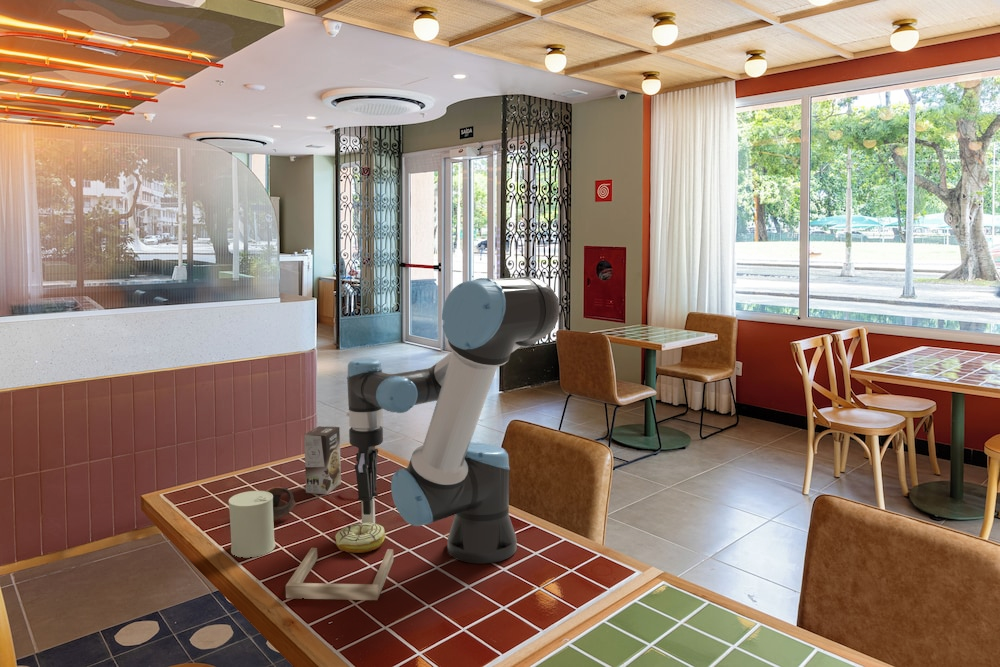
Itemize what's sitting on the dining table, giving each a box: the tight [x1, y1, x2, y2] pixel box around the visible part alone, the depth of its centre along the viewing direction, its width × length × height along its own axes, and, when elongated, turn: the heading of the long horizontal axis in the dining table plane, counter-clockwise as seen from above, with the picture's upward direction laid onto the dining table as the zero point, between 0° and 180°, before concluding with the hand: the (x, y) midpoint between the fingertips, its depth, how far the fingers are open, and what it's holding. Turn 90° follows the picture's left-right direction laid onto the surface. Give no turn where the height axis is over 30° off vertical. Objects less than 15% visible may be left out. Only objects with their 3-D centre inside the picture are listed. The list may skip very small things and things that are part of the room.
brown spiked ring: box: [265, 486, 297, 521], centre depth 171 cm, size 12×10×8 cm
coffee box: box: [303, 425, 342, 495], centre depth 189 cm, size 9×6×16 cm
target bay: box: [284, 547, 395, 601], centre depth 140 cm, size 17×16×2 cm
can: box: [228, 490, 276, 559], centre depth 153 cm, size 9×9×12 cm
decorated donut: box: [335, 522, 386, 554], centre depth 156 cm, size 10×11×4 cm
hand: (368, 525), depth 163 cm, fingers closed
